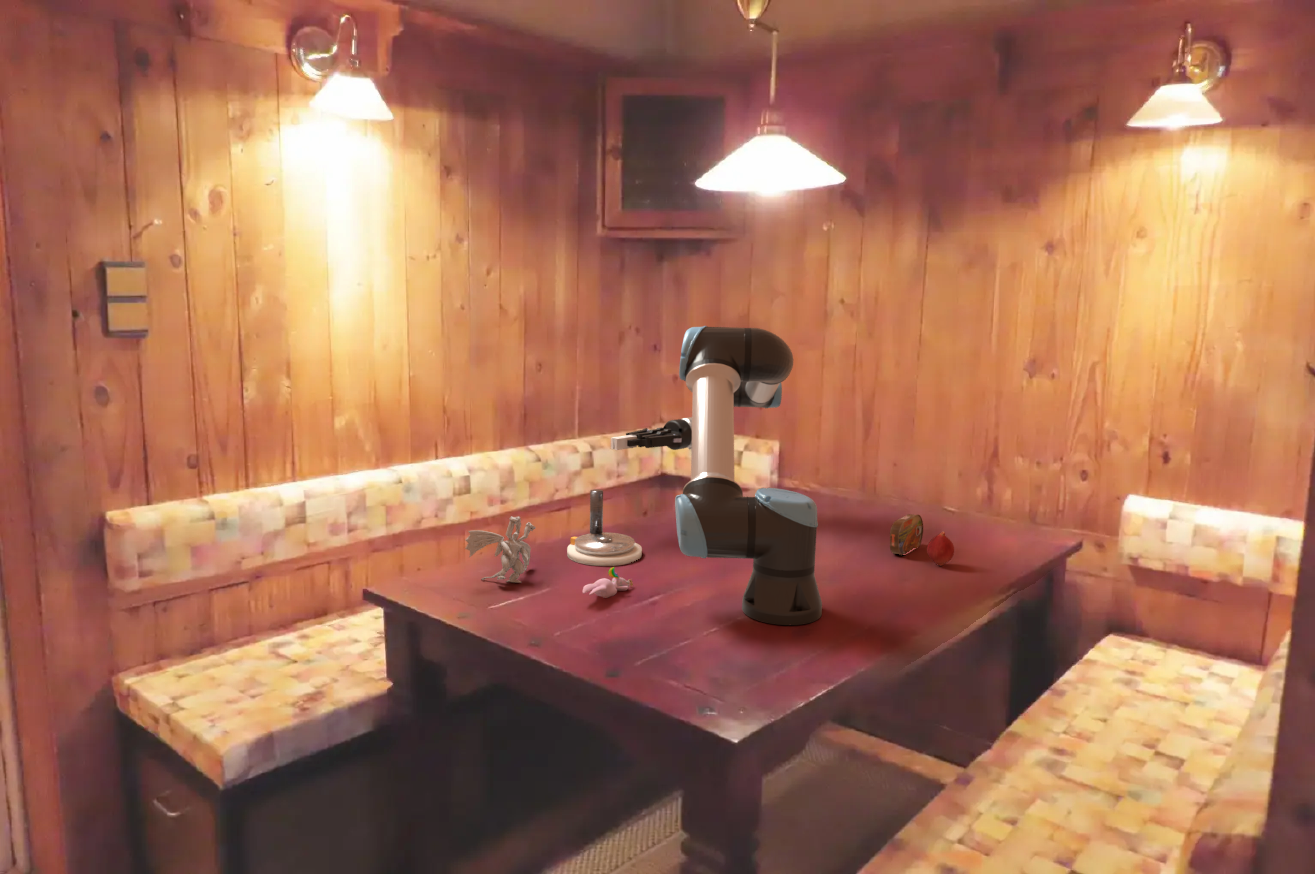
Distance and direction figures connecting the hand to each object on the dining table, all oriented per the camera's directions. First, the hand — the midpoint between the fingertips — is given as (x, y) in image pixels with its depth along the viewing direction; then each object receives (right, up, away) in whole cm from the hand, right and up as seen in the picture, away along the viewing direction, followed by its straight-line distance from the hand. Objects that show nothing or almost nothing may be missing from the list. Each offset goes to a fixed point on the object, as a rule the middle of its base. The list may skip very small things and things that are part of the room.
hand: (613, 443), depth 214 cm
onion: (+74, -28, -8) cm, 79 cm away
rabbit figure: (0, -30, -32) cm, 44 cm away
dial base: (-2, -25, -5) cm, 26 cm away
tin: (+69, -26, +3) cm, 74 cm away
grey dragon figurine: (-21, -28, -24) cm, 42 cm away
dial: (-2, -23, -5) cm, 24 cm away
